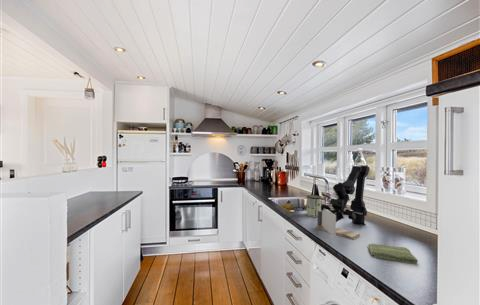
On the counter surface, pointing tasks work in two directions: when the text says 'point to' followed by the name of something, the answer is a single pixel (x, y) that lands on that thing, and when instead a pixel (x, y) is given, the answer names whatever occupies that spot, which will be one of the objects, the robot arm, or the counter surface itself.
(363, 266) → the counter surface
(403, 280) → the counter surface
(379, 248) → the washcloth
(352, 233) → the door base
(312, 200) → the glass jar
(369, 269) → the counter surface
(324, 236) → the counter surface
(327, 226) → the door
